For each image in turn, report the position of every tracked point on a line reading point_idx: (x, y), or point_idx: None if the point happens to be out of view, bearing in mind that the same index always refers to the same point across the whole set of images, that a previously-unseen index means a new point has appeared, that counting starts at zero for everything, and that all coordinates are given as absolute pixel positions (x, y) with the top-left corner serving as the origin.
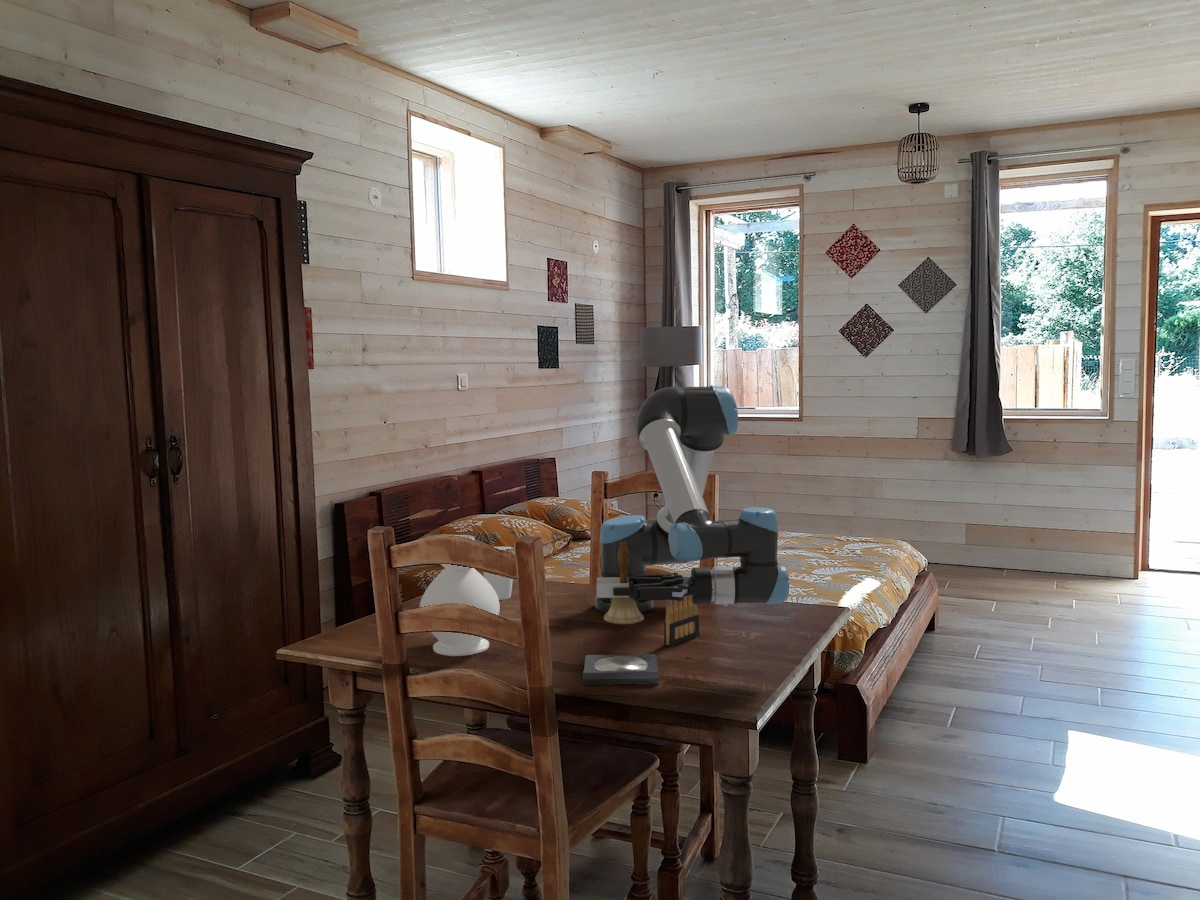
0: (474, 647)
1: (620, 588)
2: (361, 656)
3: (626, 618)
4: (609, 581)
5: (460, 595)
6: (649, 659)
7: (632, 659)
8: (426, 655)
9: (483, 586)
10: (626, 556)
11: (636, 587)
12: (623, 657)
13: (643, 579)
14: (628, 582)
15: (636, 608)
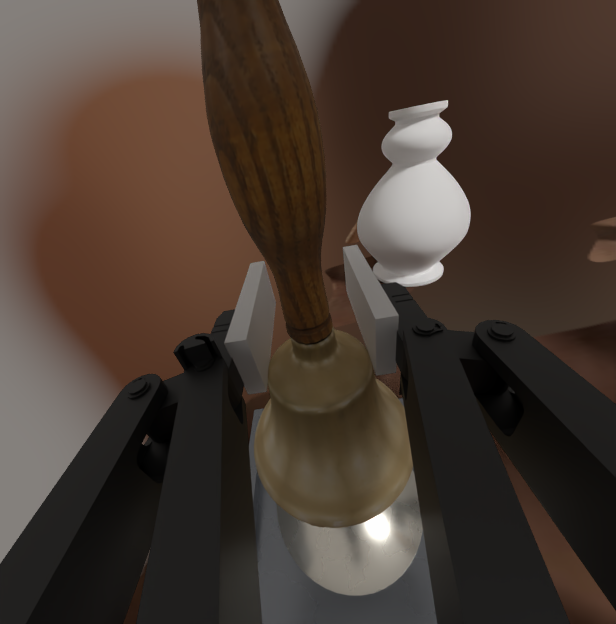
0: (394, 276)
1: (219, 330)
2: (356, 239)
3: (261, 438)
4: (352, 280)
5: (370, 203)
6: (424, 603)
7: (399, 525)
8: (369, 261)
9: (408, 198)
10: (215, 144)
11: (128, 391)
12: (409, 492)
13: (419, 411)
14: (395, 341)
15: (310, 463)
